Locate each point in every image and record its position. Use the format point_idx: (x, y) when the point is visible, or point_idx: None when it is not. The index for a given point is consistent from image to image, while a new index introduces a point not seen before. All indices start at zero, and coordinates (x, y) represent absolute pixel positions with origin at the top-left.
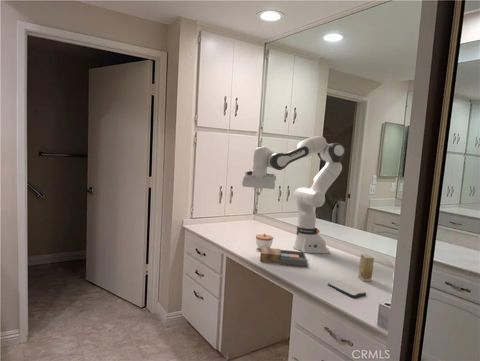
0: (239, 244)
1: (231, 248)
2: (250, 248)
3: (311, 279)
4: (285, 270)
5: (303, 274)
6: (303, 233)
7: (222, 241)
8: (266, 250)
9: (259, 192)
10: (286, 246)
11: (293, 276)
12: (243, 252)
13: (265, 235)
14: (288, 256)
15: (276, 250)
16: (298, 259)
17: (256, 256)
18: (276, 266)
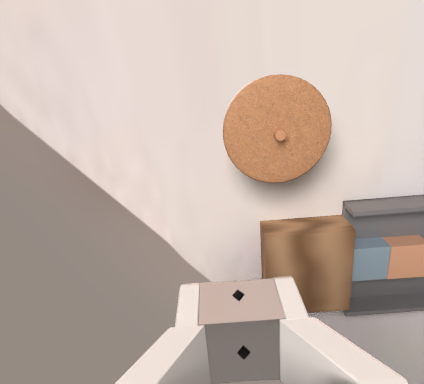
0: (130, 94)
1: (114, 182)
2: (200, 145)
3: (420, 379)
4: None
5: (404, 354)
6: None
7: (23, 73)
8: (290, 274)
9: (285, 380)
10: (396, 15)
11: None
12: (181, 218)
13: (283, 109)
14: (380, 278)
15: (335, 258)
16: (415, 307)
17: (243, 248)
18: (322, 321)
